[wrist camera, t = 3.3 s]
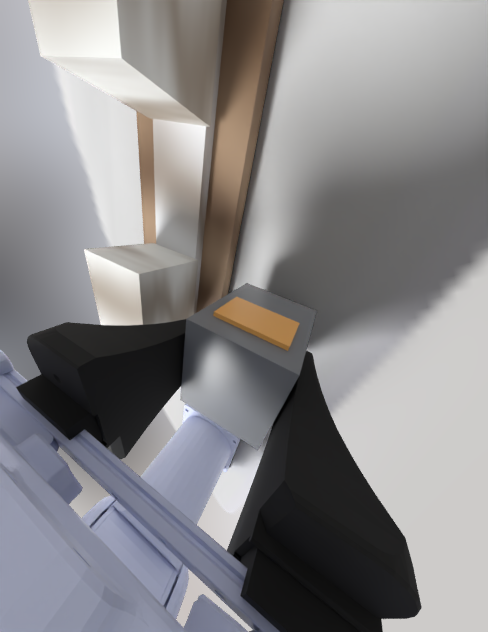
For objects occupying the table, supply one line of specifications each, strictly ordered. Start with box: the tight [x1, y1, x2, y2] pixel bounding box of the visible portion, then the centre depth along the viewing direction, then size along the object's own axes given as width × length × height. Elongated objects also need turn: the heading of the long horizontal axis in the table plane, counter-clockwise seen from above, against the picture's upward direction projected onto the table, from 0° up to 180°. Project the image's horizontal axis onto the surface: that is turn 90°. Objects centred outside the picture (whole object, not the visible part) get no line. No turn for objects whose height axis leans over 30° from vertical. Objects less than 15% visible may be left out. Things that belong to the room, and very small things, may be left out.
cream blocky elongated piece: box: [28, 0, 284, 325], centre depth 10 cm, size 17×8×6 cm, turn 166°
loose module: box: [180, 283, 317, 450], centre depth 10 cm, size 5×4×6 cm
